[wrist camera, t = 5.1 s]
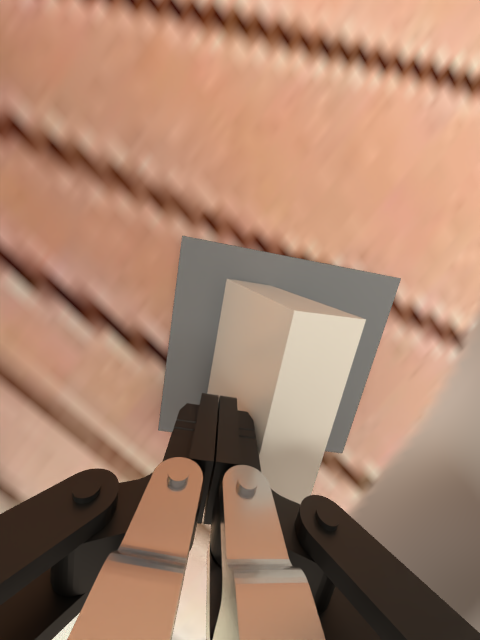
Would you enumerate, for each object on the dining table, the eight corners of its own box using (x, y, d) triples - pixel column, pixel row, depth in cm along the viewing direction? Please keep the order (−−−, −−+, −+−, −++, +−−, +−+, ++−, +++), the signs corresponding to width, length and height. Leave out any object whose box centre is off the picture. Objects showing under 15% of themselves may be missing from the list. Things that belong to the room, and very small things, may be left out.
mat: (159, 426, 19) (158, 430, 18) (183, 236, 15) (182, 235, 15) (339, 449, 20) (342, 453, 20) (397, 277, 17) (401, 278, 16)
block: (202, 419, 17) (237, 546, 10) (226, 278, 15) (294, 310, 8) (245, 417, 18) (303, 530, 11) (273, 286, 16) (371, 320, 9)
